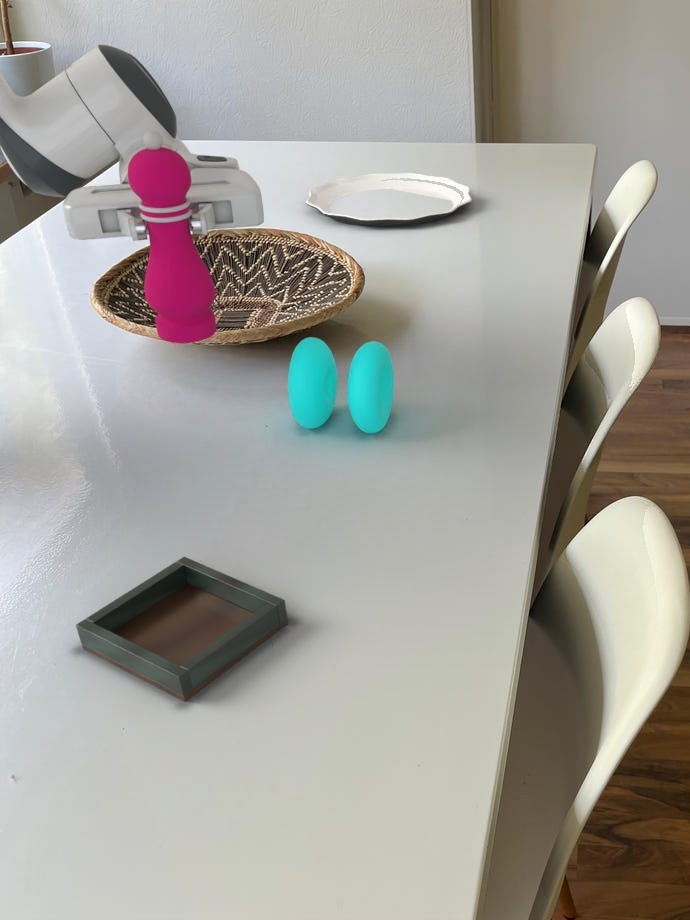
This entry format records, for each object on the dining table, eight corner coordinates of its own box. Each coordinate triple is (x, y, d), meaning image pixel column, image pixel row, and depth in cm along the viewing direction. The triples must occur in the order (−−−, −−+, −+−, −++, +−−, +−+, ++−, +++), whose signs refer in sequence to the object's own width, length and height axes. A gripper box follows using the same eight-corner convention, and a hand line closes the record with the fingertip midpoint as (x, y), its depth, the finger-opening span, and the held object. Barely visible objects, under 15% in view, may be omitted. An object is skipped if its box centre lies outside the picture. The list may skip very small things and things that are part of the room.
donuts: (316, 404, 122) (307, 322, 116) (398, 410, 120) (393, 328, 114) (290, 443, 114) (279, 358, 108) (377, 450, 113) (371, 364, 107)
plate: (499, 198, 189) (499, 184, 188) (419, 243, 169) (418, 228, 167) (365, 178, 200) (365, 165, 198) (275, 218, 180) (273, 204, 178)
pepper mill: (176, 316, 114) (140, 119, 102) (233, 324, 112) (204, 125, 100) (139, 340, 109) (96, 135, 96) (198, 349, 107) (162, 142, 94)
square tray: (84, 653, 85) (75, 624, 83) (190, 583, 93) (184, 556, 91) (186, 706, 80) (178, 677, 78) (289, 628, 88) (285, 599, 86)
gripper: (56, 169, 109) (53, 205, 99) (250, 156, 114) (266, 189, 103) (71, 230, 113) (69, 270, 103) (257, 215, 118) (273, 252, 107)
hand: (169, 229), depth 103 cm, fingers closed on pepper mill, 4 cm apart
